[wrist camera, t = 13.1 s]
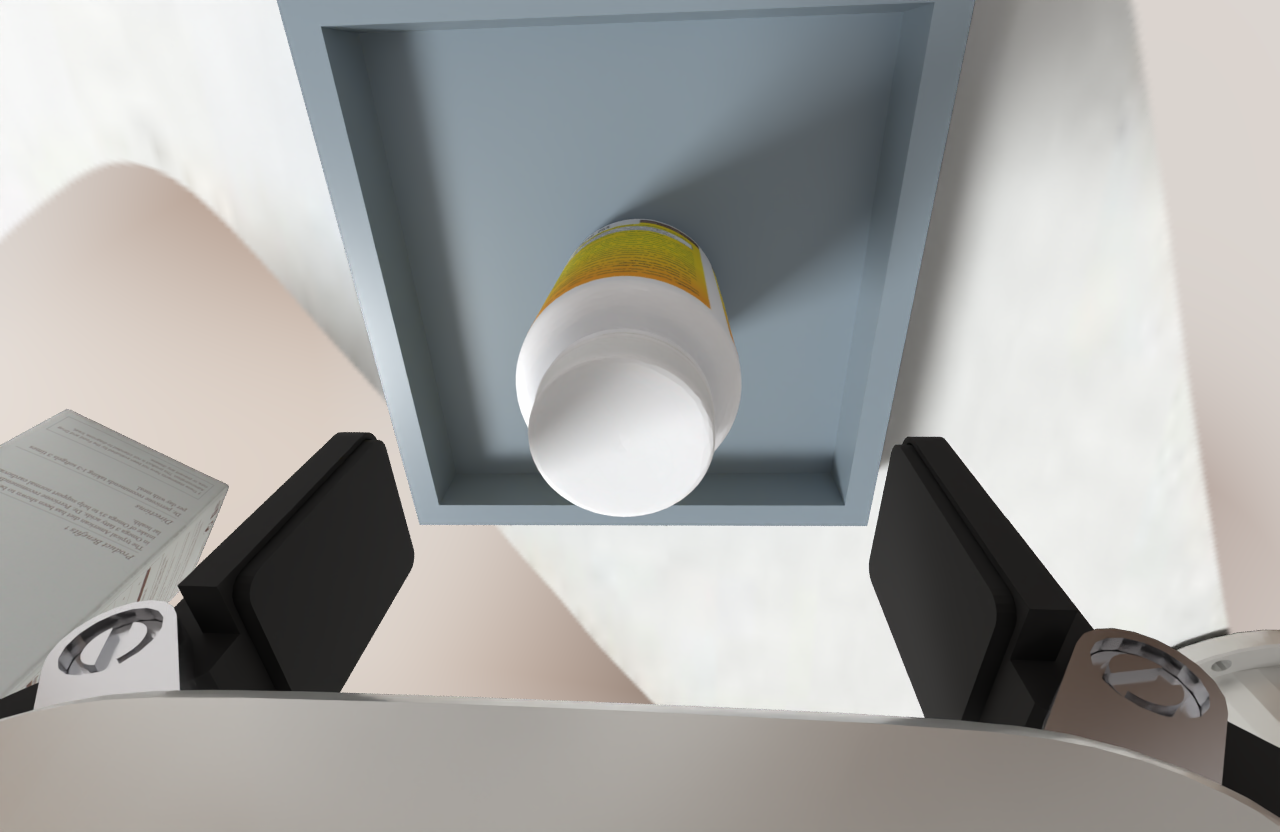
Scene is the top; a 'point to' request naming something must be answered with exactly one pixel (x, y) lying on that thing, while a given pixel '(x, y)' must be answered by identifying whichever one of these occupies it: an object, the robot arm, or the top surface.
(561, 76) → the tray
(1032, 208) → the top surface
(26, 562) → the supplement box
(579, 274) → the supplement bottle
